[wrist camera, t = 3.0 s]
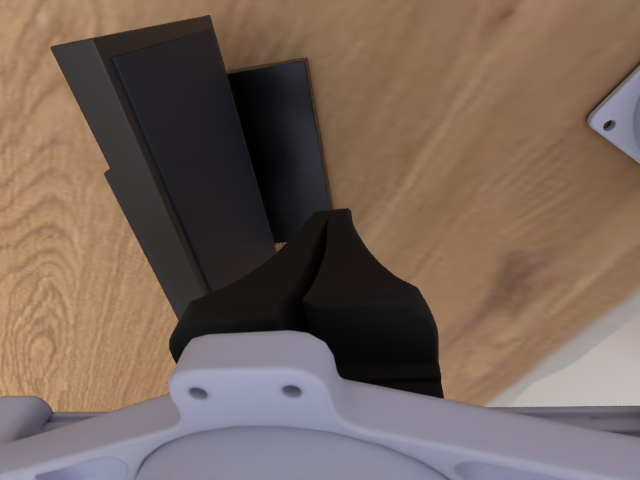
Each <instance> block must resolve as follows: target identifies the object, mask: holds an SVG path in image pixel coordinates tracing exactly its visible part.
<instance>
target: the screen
mask: <svg viewBox="0 0 640 480" xmlns="http://www.w3.org/2000/svg"><path fill="white" fill-rule="evenodd" d="M51 50H52V52H53V54H54V56H55V58H56V60H57V62H58V64H59V66H60V68H61V70H62V72H63V74H64V76H65V78H66V80H67V82H68V84H69V86H70V88H71V90H72V92H73V94H74V96H75V98H76V100H77V102H78V104H79V106H80V108H81V111H82V113H83V115H84V117H85V119H86V121H87V123H88V125H89V127H90V129H91V131H92V133H93V135H94V137H95V139H96V141H97V143H98V145H99V147H100V149H101V151H102V153H103V155H104V157H105V159H106V161H107V163H108V165H109V167H110V169H109V170H108V171H106V172H105V173H104V175H105V177H106V179H107V181H108V183H109V185H110V187H111V189H112V191H113V193H114V195H115V197H116V199H117V201H118V203H119V205H120V207H121V209H122V210H123V212H124V214H125V216H126V218H127V220H128V222H129V224H130V226H131V228H132V230H133V232H134V234H135V236H136V238H137V240H138V242H139V244H140V246H141V248H142V250H143V252H144V254H145V256H146V257H147V259H148V261H149V263H150V265H151V267H152V269H153V271H154V273H155V275H156V277H157V279H158V281H159V283H160V285H161V287H162V289H163V291H164V293H165V295H166V297H167V299H168V301H169V302H170V304H171V306H172V308H173V310H174V312H175V314H176V316H177V318H178V320H180V318H181V316H182V315H183V313H184V311H185V309H186V308H187V306H188V304H189V303H190V301H193V300H196V299H198V298H201V297H203V296H205V295H208V294H210V293H213V292H215V291H217V290H220V289H222V288H224V287H226V286H228V285H230V284H232V283H234V282H235V281H237V280H239V279H241V278H242V277H244V276H246V275H247V274H249V273H250V272H252V271H253V270H255V269H256V268H258V267H259V266H261V265H262V264H264V263H265V262H266V261H267V260H269V259H270V258H271V257H272V256H274V255H275V254H276V253H277V251H276V248H275V244H274V241H273V237H272V233H271V230H270V226H269V223H268V219H267V216H266V212H265V209H264V205H263V201H262V198H261V194H260V191H259V187H258V184H257V180H256V177H255V173H254V170H253V166H252V162H251V159H250V155H249V152H248V148H247V145H246V141H245V138H244V134H243V130H242V127H241V123H240V120H239V116H238V113H237V109H236V106H235V102H234V98H233V95H232V91H231V88H230V84H229V81H228V77H227V74H226V70H225V66H224V63H223V59H222V56H221V52H220V49H219V45H218V42H217V38H216V34H215V31H214V27H213V24H212V20H211V17H210V15H207V16H202V17H197V18H192V19H187V20H182V21H177V22H171V23H166V24H161V25H156V26H151V27H146V28H141V29H136V30H130V31H125V32H120V33H115V34H110V35H105V36H100V37H95V38H90V39H85V40H80V41H75V42H70V43H65V44H60V45H55V46H52V47H51Z"/></svg>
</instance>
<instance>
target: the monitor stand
mask: <svg viewBox="0 0 640 480" xmlns="http://www.w3.org/2000/svg"><path fill="white" fill-rule="evenodd" d="M226 74H227V77H228V81H229V84H230V88H231V91H232V95H233V98H234V102H235V106H236V109H237V113H238V116H239V120H240V123H241V127H242V130H243V134H244V138H245V141H246V145H247V148H248V152H249V155H250V159H251V162H252V166H253V170H254V173H255V177H256V180H257V184H258V187H259V191H260V194H261V198H262V201H263V205H264V209H265V212H266V216H267V219H268V223H269V226H270V230H271V233H272V237H273V241H274V243H281V242H288V241H289V240H290V239H291V238H292V237H293V236H294V235H295V234H296V233H297V232H298V231H299V230H300V228H301V227H302V226H303V225H304V224H305V223H306V221H307V220H308V219H309V218H310V217H311V216H312V214H313V213H314V212H317V211H327V210H333V205H332V200H331V194H330V188H329V182H328V176H327V170H326V165H325V159H324V153H323V147H322V141H321V135H320V130H319V124H318V118H317V112H316V106H315V100H314V95H313V89H312V83H311V77H310V71H309V65H308V60H307V58H300V59H294V60H288V61H283V62H277V63H271V64H265V65H260V66H254V67H248V68H242V69H237V70H231V71H226Z"/></svg>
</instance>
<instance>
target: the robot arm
mask: <svg viewBox="0 0 640 480" xmlns="http://www.w3.org/2000/svg"><path fill="white" fill-rule="evenodd" d="M610 120H611V124H610V126H608V127H607V128H604V129H603V127H604V124H605V123H606V122H608V121H610ZM587 123H588V125H589V126H590V127H591V128H592V129H593V130H595V131H596V132H597V133H599V134H600V135H602V136H603V137H604V138H606V139H607V140H608V141H610V142H611V143H612V144H614V145H615V146H616V147H618V148H619V149H620V150H622V151H623V152H624V153H626V154H627V155H628V156H630V157H631V158H632V159H634V160H635V161H636V162H638V163H639V164H640V65H639V66H638V67H637V68H636V69H635V70H634V71H633V72H632V73H631V74H630V75H629V76H628V77H627V78H626V79H625V80H624V81H623V82H622V83H621V84H620V85H619V86H618V87H617V88H616V89H615V90H614V91H613V92H612V93H611V94H610V95H609V96H608V97H607V98H606V99H605V100H604V101H603V102H602V103H601V104H600V105H599V106H598V107H597V108H596V109H595V110H594V111H592V112H591V114H590V115H589V116H588V120H587ZM169 349H170V351H171V354H172V357H173V359H174V360H175V362H176V364H177V365H176V367H175V369H174V371H173V373H172V375H171V377H170V379H169V381H168V383H167V384H168V389H169V394H165V395H162V396H159V397H156V398H153V399H149V400H146V401H143V402H140V403H137V404H134V405H130V406H127V407H124V408H121V409H118V410H114V411H111V412H53V411H52V409H51V407H50V406H49V405H48V404H47V403H46V402H45V401H44V400H43V399H41V398H39V397H36V396H3V397H0V480H640V406H580V407H483V406H478V405H473V404H468V403H463V402H458V401H453V400H447V399H444V395H443V390H442V385H441V373H440V368H439V363H438V330H437V326H436V323H435V320H434V318H433V315H432V313H431V311H430V309H429V307H428V305H427V303H426V301H425V299H424V298H423V296H422V294H421V293H420V291H419V289H418V288H417V287H415V286H413V285H411V284H409V283H407V282H405V281H403V280H401V279H399V278H398V277H396V276H395V275H393V274H392V273H391V272H390V271H389V270H387V269H386V268H385V267H384V266H382V265H381V264H380V263H379V262H378V261H377V260H376V259H375V257H374V256H373V255H372V254H371V253H370V251H369V250H368V249H367V248H366V246H365V245H364V243H363V242H362V240H361V238H360V237H359V235H358V233H357V231H356V229H355V227H354V225H353V221H352V214H351V211H350V210H349V209H348V208H346V209H336V210H327V211H317V212H314V213H313V214H312V216H311V217H310V218H309V219H308V220H307V221H306V223H305V224H304V225H303V226H302V227H301V228H300V230H299V231H298V232H297V233H296V234H295V235H294V236H293V237H292V238H291V239H290V240H289V241H288V242H287V243H286V244H285V245H284V246H283V247H282V248H281V249H280V250H279V251H278V252H277V253H276V254H275V255H274V256H272V257H271V258H270V259H269V260H267V261H266V262H265V263H264V264H262V265H261V266H259V267H258V268H256V269H255V270H253V271H252V272H250V273H249V274H247V275H246V276H244V277H242V278H241V279H239V280H237V281H235V282H234V283H232V284H230V285H228V286H226V287H224V288H222V289H220V290H217V291H215V292H213V293H210V294H208V295H205V296H203V297H201V298H198V299H196V300H193V301H190V303H189V304H188V306H187V308H186V309H185V311H184V313H183V315H182V316H181V318H180V320H179V322H178V324H177V326H176V328H175V329H174V331H173V333H172V335H171V338H170V340H169Z"/></svg>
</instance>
